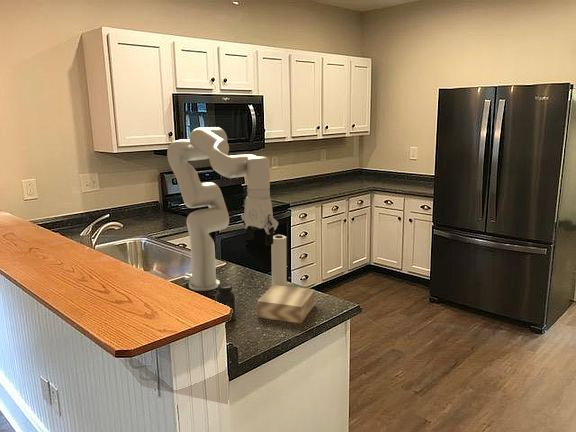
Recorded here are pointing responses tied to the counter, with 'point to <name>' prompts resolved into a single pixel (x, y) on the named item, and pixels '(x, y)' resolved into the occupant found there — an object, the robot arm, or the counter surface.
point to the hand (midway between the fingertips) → (259, 242)
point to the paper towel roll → (279, 260)
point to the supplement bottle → (226, 297)
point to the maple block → (286, 303)
